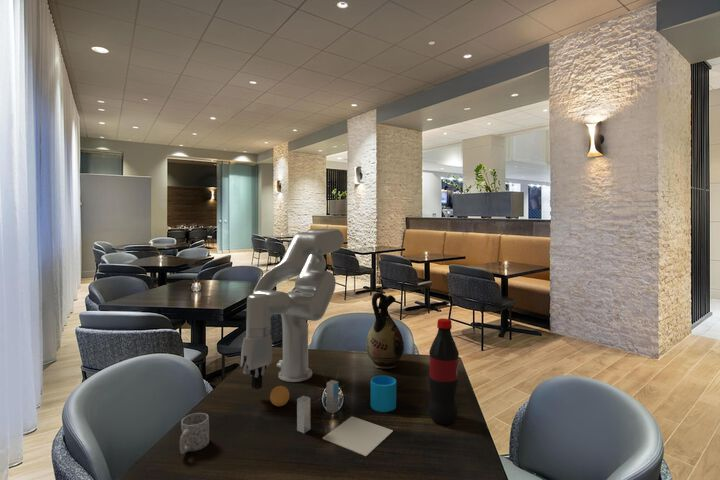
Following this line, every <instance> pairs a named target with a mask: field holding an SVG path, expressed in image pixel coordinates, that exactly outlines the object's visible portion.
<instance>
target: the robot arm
mask: <svg viewBox="0 0 720 480" xmlns="http://www.w3.org/2000/svg"><path fill="white" fill-rule="evenodd" d="M344 242H345V236H344V233H343V231H341V230H339V229H337V228H312V229H308V230H307V231H300V232H298V233H295V234H294V236H293V237H292V239H291V241H290V242H289V244H288V246H287V248H286V250H285V252H284V254H283V256H282V259H281V260H280V262H279V263H278V264H276V265H275V266H273V267H271V269H269V270H267V271H266V272H265V273H264V274H263V275H262V276H261V277H260V278H259V280H258V282H257V284H256V285H255V286H254V289H253V291H252V292H251V293H252V294H249V295H248V296H247V298H246V299H247V300H246V325H245V326H246V330H245V337H243V341H242V344H241V345H242V346H241V353H240V367H241V368H243V369H242V374H245V375H250V377H251V388H252V389H255V390H260V389H263V376H265V371H266V369H268V367H270V366H271V363H272V362H273V340H272V335H271V330H272V325H271V315H280V316H281V323H282V324H281V325H282V359H279V361H278V362H277V363H276V367H277V368H280V371H278V374H277V375H278V376H277V377H278V378H279V379H280V381H284V382H287V383H298V382H304V381H307V380H309V379H310V378H312V377H313V371H312V369H311V368H309V326H308V323H307V321H314V322H316V321H320V320H321V319H322V318H323V316H325V313H326V312H327V309H328V307H329V305H330V302H331V299H332V297H333V295H334V293H335V290H336V285H337V284H336V282H337V281H336V277H335V275H334V274H333V273H332V272H330V271H328V270H325V269H326V267H327V261H326V259H325V256H324V255H328V254H331V253H333V252H337V251H339V250H340V249H341V248H342V247H343V245H344ZM294 277H295V281H294V288H295V290H296V291H297V292H296V291H290V292H288V293H286V292H285V291H278V290H273V289H274V288H275V287H276V286H277V285H279V284H280V283H282V282H284V281H287V280H289V279H292V278H294Z"/></svg>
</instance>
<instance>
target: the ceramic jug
mask: <svg viewBox="0 0 720 480" xmlns="http://www.w3.org/2000/svg"><path fill="white" fill-rule="evenodd" d="M371 298H372V299H371V306H372V309H373V312H374V317H375V321H374V322H373V324H372V325H371V327H370V329H369V331H368V333H367V336H366V341H365V350H366V353H367V355H368V357H369V358H370V360H371V361H372V363H373V365H374V367H375V368H377V369H387V370H390V369H395V368H397V367H398V362H399V361H400V359H401V358H402V357H403V354H404V351H405V343H404V339H403V336H402V333H401V331H400V329H399V327H398V326H397V324H396V322H395V320H393V318H392V317H391V315H390V313H389V309H388V308H389V306H391V305H392V304H394V303H395V302H396V298H395V297H394V296H393V295H391V294H389V295H386V294H384V293H382V292H376V293H373V294H372V297H371ZM378 299H380V301H379V303H378Z"/></svg>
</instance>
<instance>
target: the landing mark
mask: <svg viewBox="0 0 720 480" xmlns="http://www.w3.org/2000/svg"><path fill="white" fill-rule="evenodd" d="M393 432H394V430H393V429H390V428H387V427H385V426H381V425H378V424H375V423H372V422H370V421H368V420H367V421H366V420H364V419H362V418H359V417H355V416H350V417H349V418H347V419H346V420H345V421H343V422H342V423H341V424H339V425H338V426H337V427H335V428H333V429H332V430H331V431H329V432H328V433H327V434H326V435H324V436H323V437H322V440H324V441H327V442H330V443H332V444H335V445H337V446H339V447H341V448H344V449H347V450H349V451H351V452H354V453H356V454H359V455H361V456H364V457H367V456H368V455H370V454H371V452H373V451H374V450H375V449H376V448H377V447H378V446H379V445H380V444H381V443H383V442H384V440H386V438H388V437H389V436H390V435H391V434H392V433H393Z"/></svg>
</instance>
